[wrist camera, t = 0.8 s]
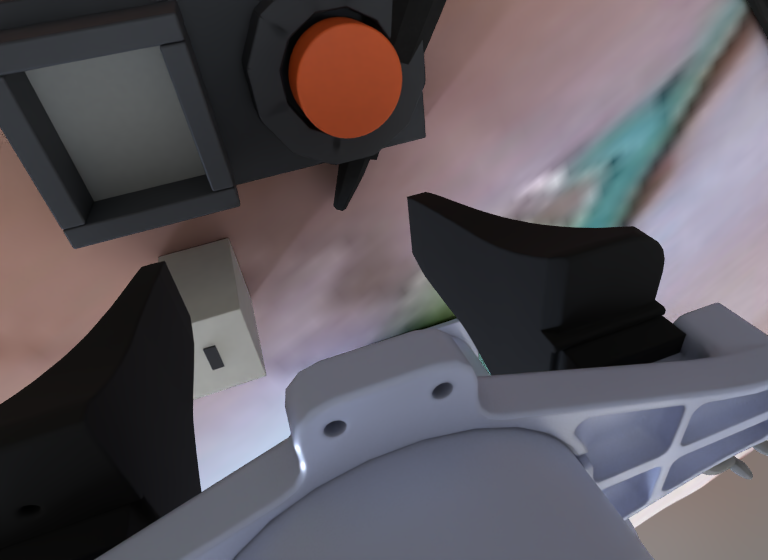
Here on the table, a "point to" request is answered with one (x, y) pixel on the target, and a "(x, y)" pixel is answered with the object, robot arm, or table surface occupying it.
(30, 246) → the table surface
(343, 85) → the power button
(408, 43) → the microphone
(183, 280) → the block
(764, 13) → the smartphone
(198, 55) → the adapter
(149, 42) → the socket
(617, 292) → the robot arm
